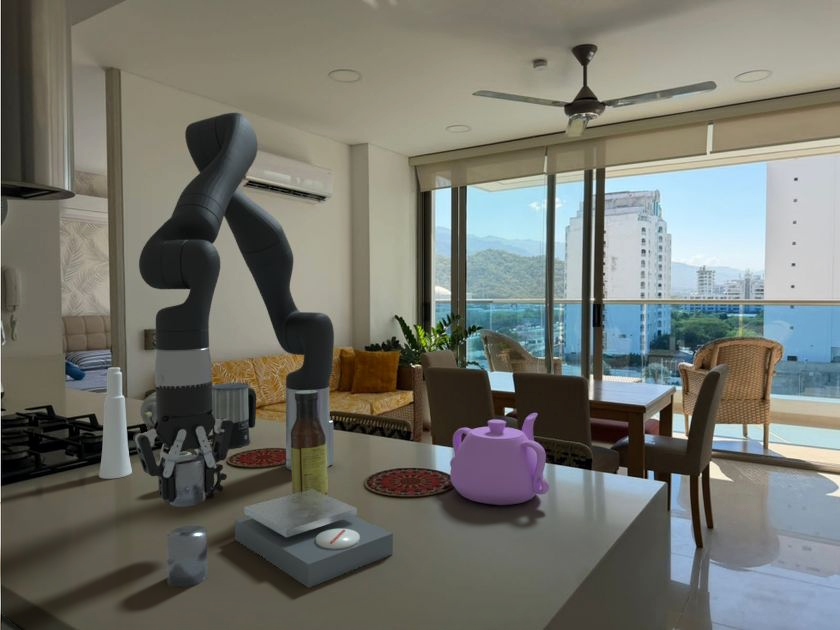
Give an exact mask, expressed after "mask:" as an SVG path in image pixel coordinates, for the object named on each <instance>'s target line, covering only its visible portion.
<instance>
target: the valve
mask: <svg viewBox="0 0 840 630" xmlns="http://www.w3.org/2000/svg"><path fill="white" fill-rule="evenodd" d="M184 455H193V454H192V452H189V451H184V452H180V453H179V456H184ZM215 466H216V467H214V475H216V482H215V483H214V486H213V488H211V492H209V493H206V494H205V498H207V499H213V498H214V496H215V494H214V492H215V491H216V492H218V493H219V492H220V493H221V492H223V490H224V485H222V484H221V483H222V481H225V480H226V479H227V478H228V475H227V474H226V473H224V472H222V473H221V471H222V470H223V469H224V465H223V464H220V463H216V464H215Z"/></svg>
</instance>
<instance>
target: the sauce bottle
mask: <svg viewBox="0 0 840 630" xmlns="http://www.w3.org/2000/svg"><path fill="white" fill-rule="evenodd" d="M295 400H296V408H297V409H296V410H297V413H296V417H297V418H296V421H295V423H294V425H293V427H292V429H291V470H290V471H291V486H292V488H291V490H292V494H295V493H299V492H303V491H306V490H310V489H313V490H316V491H318V492H320V493H323V494H325V495H327V496H328V491H329V483H328V482H329V481H328V479H329V478H328V467H327V452H326V437H325V434H324V431H323V428H322V425H321V422H320V419H319V416H318V406H317V400H318V391H315V390H303V391H297V392H295Z"/></svg>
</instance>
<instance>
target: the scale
mask: <svg viewBox="0 0 840 630" xmlns="http://www.w3.org/2000/svg"><path fill="white" fill-rule="evenodd" d="M393 536H394V534H393V533H392V532H390V531H388V530H386V529H384V528H382V527H379V526H378V525H374V524H373V523H372V522H371V523H370V522H368V521H366V520H364V519H361V518H359V517H357V516H356V515H355V516H352V517H349V518H346V519H342V520H339V521H336V522H333V523H330V524H327V525H324V526H321V527H318V528H314V529H311V530H308V531H305V532H302V533H299V534H296V535H293V536H290V537H284V536H283V535H281V534H279V533H277V532H276V531H274V530H272V529H270V528H269V527H267V526H265V525H263V524H262V523H260V522H258V521H256V520H255V519H253V518H251V517H249V516H248V515H247V516H245V517H241V518H238V519H234V540H235V541H236V542H238V543H239V542H240V543H239V544H241V545H242V544H243V545H242V546H244V547H245V546H246V547H245V548H247V549H249V550H250V549H251V550H250V551H252V552H253V551H254V552H253V553H255V554H256V553H257V554H256V555H258V554H259V555H260V557H261V556H262V557H263V558H262V557H261V558H262V559H264V558H265V559H266V561H267V562H268V561H269V563H270V564H271V563H272V565H273V566H274V565H275V566H274V567H276V568H277V567H278V568H277V569H279V570H281V571H282V572H283V573H285V574H286V575H289V576H290V577H292V578H293V579H294V580H296V581H297V582H299V583H300V584H302V585H304V586H305V587H306V588H308V589H310V588H312V587H314V586H317V585H319V584H322V583H324V582H327V581H330V580H332V579H335V578H337V577H339V576H343V575H344V573H345V574H348V573H350V572H352V571H354V569H355V570H356V569H359V567H360V568H362V567H364V565H365V566H367V565H369V564H372V563H374V562H376V561H379V560H381V559H385V558H387V557H389V556H392V555H393V554H394V553H393V552H394V551H393V549H394V548H393V547H394V544H393V543H394V537H393ZM259 555H258V556H259ZM265 559H264V560H265ZM351 570H352V571H351ZM349 571H350V572H349Z"/></svg>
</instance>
